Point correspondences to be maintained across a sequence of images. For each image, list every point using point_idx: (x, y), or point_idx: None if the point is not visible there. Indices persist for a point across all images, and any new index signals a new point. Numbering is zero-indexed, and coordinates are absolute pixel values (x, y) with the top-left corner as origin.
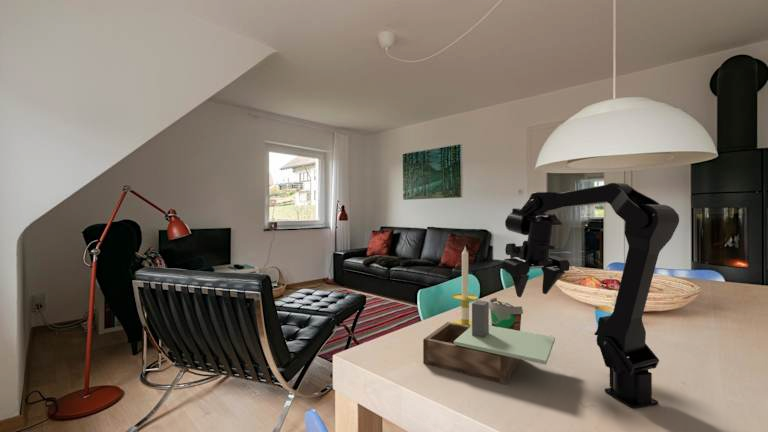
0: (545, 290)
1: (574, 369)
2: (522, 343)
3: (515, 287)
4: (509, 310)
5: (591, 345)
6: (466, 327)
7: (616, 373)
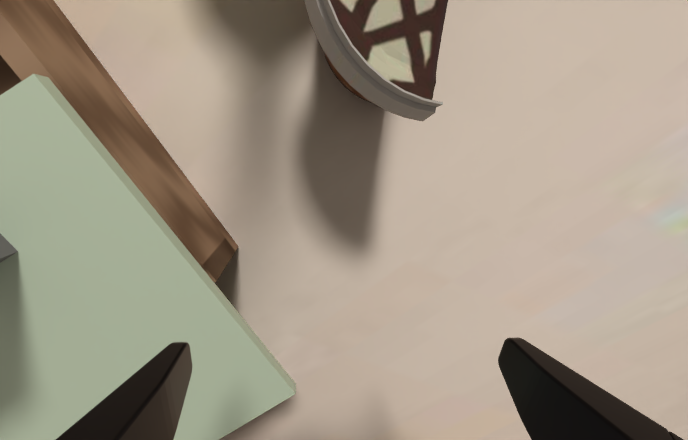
0: (518, 388)
1: (329, 359)
2: (100, 401)
3: (78, 432)
4: (351, 71)
5: (544, 267)
6: (1, 51)
7: None
